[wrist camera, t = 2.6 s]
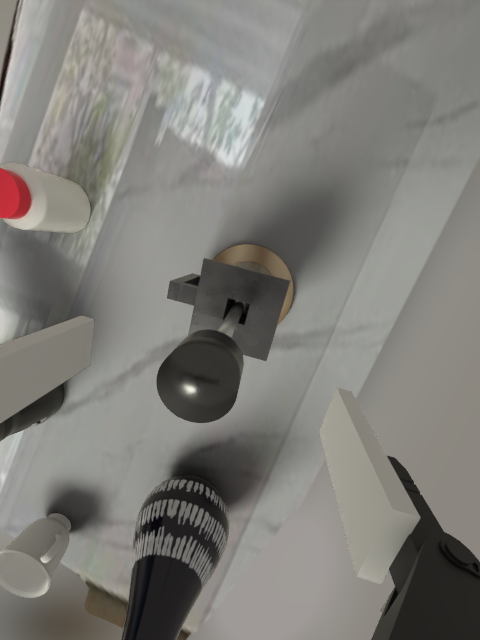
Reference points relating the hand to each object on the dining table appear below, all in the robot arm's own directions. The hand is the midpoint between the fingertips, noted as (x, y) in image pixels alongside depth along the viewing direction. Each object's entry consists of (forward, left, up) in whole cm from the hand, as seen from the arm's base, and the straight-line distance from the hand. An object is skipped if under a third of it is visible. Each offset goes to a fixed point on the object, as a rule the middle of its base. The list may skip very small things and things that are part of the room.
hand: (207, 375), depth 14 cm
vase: (-1, -41, -29) cm, 50 cm away
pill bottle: (-30, +5, -29) cm, 42 cm away
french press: (-2, 0, -28) cm, 28 cm away
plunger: (0, 0, -18) cm, 18 cm away
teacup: (-27, -60, -29) cm, 72 cm away
